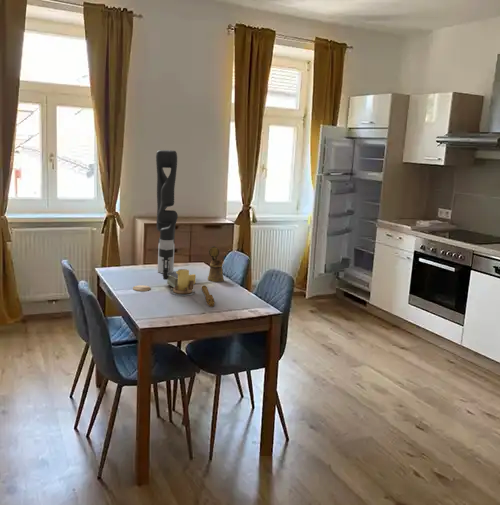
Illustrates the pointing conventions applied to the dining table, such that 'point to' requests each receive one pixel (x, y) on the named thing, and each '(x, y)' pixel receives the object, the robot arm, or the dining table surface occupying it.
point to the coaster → (141, 288)
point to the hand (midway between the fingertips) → (165, 279)
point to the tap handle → (208, 296)
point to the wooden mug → (215, 266)
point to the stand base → (182, 294)
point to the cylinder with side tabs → (184, 279)
